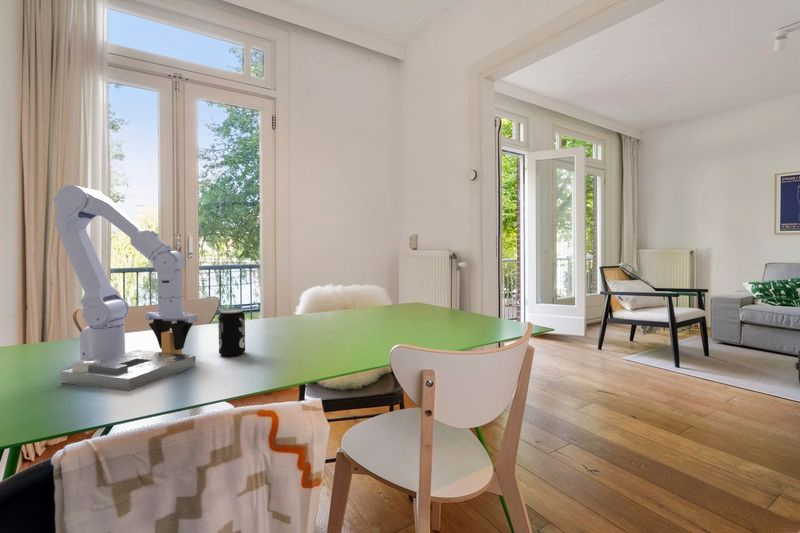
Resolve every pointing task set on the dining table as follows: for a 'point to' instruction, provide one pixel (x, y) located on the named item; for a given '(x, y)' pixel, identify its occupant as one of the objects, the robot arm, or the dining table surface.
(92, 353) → the robot arm
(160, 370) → the gray slotted plate
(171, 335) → the orange rectangular block
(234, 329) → the beverage can
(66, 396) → the dining table surface
